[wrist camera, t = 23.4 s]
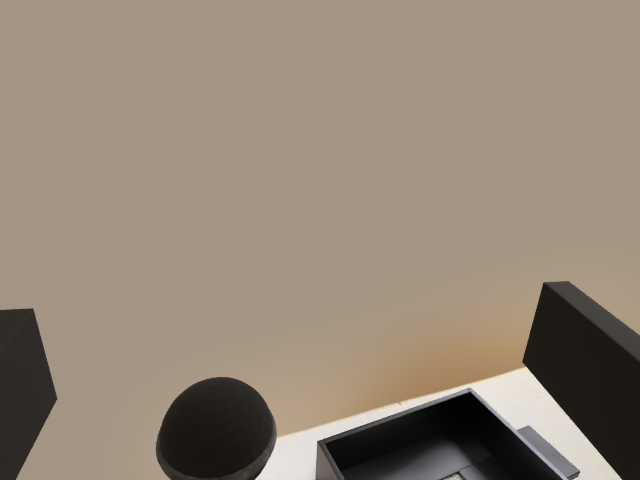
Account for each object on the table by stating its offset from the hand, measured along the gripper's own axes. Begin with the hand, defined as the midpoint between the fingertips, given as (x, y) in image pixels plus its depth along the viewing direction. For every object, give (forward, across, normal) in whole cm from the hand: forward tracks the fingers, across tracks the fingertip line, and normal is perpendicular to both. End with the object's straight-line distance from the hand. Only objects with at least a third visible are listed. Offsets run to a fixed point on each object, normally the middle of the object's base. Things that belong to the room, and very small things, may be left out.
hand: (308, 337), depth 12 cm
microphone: (+10, -4, -31) cm, 33 cm away
